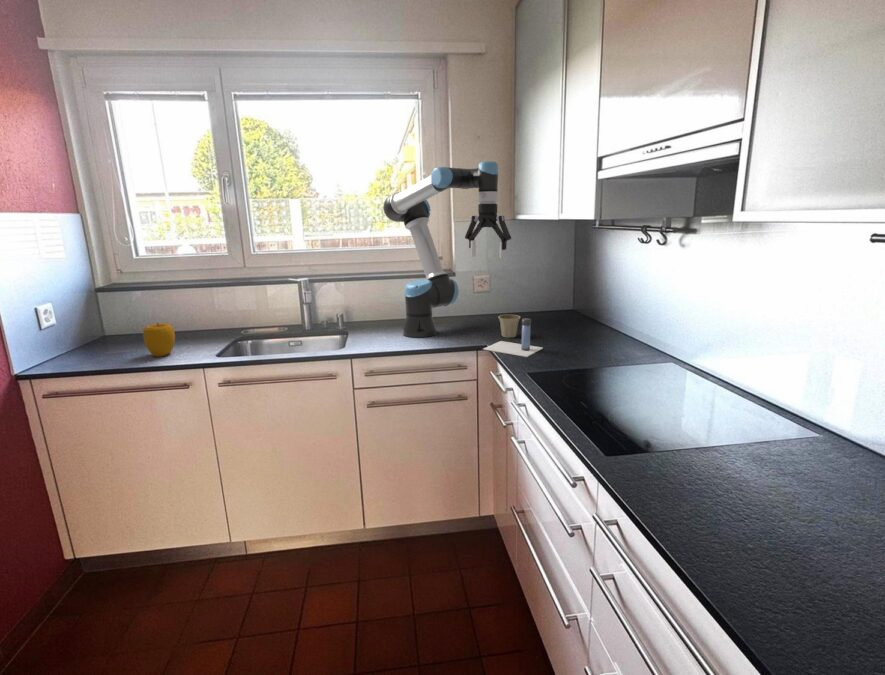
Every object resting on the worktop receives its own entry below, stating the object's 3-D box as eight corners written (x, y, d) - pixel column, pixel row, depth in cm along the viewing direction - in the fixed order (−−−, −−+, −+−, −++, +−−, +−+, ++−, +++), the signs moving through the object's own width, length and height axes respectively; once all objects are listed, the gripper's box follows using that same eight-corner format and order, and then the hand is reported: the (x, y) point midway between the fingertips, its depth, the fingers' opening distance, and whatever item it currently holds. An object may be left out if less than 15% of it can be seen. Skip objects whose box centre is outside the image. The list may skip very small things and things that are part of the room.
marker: (519, 349, 185) (520, 319, 182) (523, 347, 188) (524, 317, 184) (527, 351, 183) (528, 320, 180) (531, 349, 186) (532, 319, 182)
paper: (482, 349, 188) (482, 348, 187) (500, 341, 198) (500, 340, 198) (526, 357, 177) (526, 356, 176) (543, 348, 187) (543, 347, 187)
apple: (182, 354, 189) (177, 322, 186) (151, 360, 182) (145, 327, 178) (173, 349, 196) (168, 318, 193) (143, 355, 189) (137, 323, 186)
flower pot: (519, 333, 211) (519, 314, 209) (520, 339, 202) (521, 319, 200) (498, 333, 212) (498, 314, 210) (498, 338, 203) (498, 319, 201)
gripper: (456, 203, 193) (456, 256, 199) (511, 202, 179) (509, 259, 185) (466, 203, 199) (466, 255, 205) (520, 202, 185) (519, 257, 190)
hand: (487, 257), depth 195 cm, fingers open, 13 cm apart
